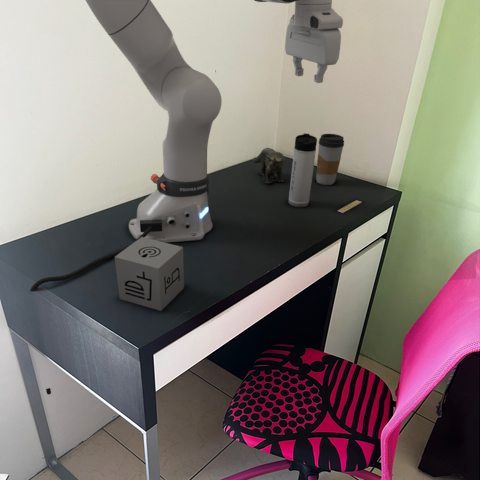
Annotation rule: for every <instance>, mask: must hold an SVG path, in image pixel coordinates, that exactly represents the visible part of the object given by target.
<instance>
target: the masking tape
mask: <svg viewBox="0 0 480 480" xmlns="http://www.w3.org/2000/svg"><path fill="white" fill-rule="evenodd" d="M360 204H362V201H360V200H357V199H356V200H354V201H352V202H350V203H348V204H346V205H345V206H343V207H342V208H340V209H338V210H337V212H338V213H342V214H344V213H346V212H347V211H350V210H351V209H352V208H355V207H356V206H358V205H360Z"/></svg>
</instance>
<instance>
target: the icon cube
mask: <svg viewBox="0 0 480 480" xmlns="http://www.w3.org/2000/svg"><path fill="white" fill-rule="evenodd" d="M133 242H134V241H133ZM133 242H132V243H133ZM129 245H130V244H129ZM126 247H127V246H126ZM184 263H185V262H184V247H183V246H180V245H177V244H173V243H169V242H165V243H164V242H160V241H156V240H152V239H148V238H144V237H141V238H140V239H138V240H137V241H136V242H134V243H133V244H132V245H130V246H129V247H127V248H126V249H125V250H123V251H122V252H121V253H119V254H118V255H117V256H114V264H115V272H116V273H115V274H116V280H117V289H118V297H119V300H121V301H126V302H128V303H132V304H136V305H140V306H142V307H146V308H149V309H153V310H156V311H160V312H162V311H163V310H164V309H165V308H166V307H167V306H168V305H169V304H170V303H171V302H172V301H173V300H174V299H175V298H176V297H177V296H178V295H179V294H180V293H181V292H182V291H183V290H184V289H185V267H184V266H185V265H184Z"/></svg>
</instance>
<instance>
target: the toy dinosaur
mask: <svg viewBox="0 0 480 480" xmlns="http://www.w3.org/2000/svg"><path fill="white" fill-rule="evenodd" d="M285 159H286V158H285V156H284V155H283V153H281V152H280V151H276V150H274V149H273V148H271V147H265V148H263V149H262V150H261V152H260V153H259V154H258V155H257V157H253V159H252V161H253V164H258V163H260V167H261V168H260V172H259V176H265V181H264V184H272V181H271V178H272V179H277V182H278V183H284V181H285V180H284V179H283V178H282V173H283V172H282V171H283V167H284V165H285V163H286V160H285ZM276 175H277V176H276Z"/></svg>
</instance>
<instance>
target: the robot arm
mask: <svg viewBox="0 0 480 480" xmlns="http://www.w3.org/2000/svg"><path fill="white" fill-rule="evenodd" d="M253 1H255V2H257V3H268V2H269V3H276V4H292V3H294V14H292V16H291V17H290V19H289V23H288V25H287V27H286V33H285V41H284V42H285V43H284V50H285V54H286V55H288V56H291V57H292V62H293V66H294V75H295V76H296V77H303V76H304V70H305V69H304V68H303V64H302V61H303V60H305V61H307V62H312V63H315V64H316V68H317V70H316V74H314V75H313V77H314V79H313V81H314V82H315V83H316V84H321V83H323V82H324V77H325V76H324V75H325V74H326V71H327V69H328V66H332V65H333V66H335V65H336V64H337V63H338V61H339V60H340V59H339V58H340V52H341V43H342V35H341V31H340V29H342V27H343V25H344V18H342V16H340V15H339V14H338V13H337V12H336V11H335V9H334V8H332V7H333V6H332V5H333V0H253ZM85 2H86V4H87V6H88V8H89V9H90V10H91V12H92V13H93V14H92V15H94V17H95V18H96V20H97V21H98V23H99V24H100V26H101V27H102V29H103V30H104V32H106V34H107V35H108V36H109V38H110V39H111V40H112V42H113V43H114V44H115V46H116V47H117V48H118V49H119V51H120V52H121V53H122V54H123V56H124V57H125V58H126V60H127V61H128V62H129V64H130V65H131V66H132V67H133V69H134V70H135V72H136V73H137V75H138V77H139V78H140V80H141V81H142V83H143V85H144V86H145V87H146V89H147V90H148V93H149V94H150V95H151V96H152V98H153V99H154V100H155V103H157V104H158V106H159V107H160V108H161V109H163V110H165V111H166V112H167V114H168V123H167V128H166V129H167V130H166V135H165V138H164V139H163V141H162V145H161V146H162V165H163V167H162V168H163V172H162V175H160V176H159V175H158V174H156V173H153V174H151V176H150V180H151V182H152V183H153V184H156V189H155V190H154V191H153V192H152V193H151V194H149V195H148V196H147V197H146V198H145V199H143V200H142V201H140V203H139V204H138V207H137V210H136V218H132V219H130V221H129V222H128V230H129V233H130V234H131V236H132V237H133V238H134V239H135V240H134V241H133V242H131V243H130V244H128V245H127V246H124V247H123V248H121V249H119V250H117V251H114V252H111V253H108V254H105V255H103V256H101V257H99V258H96V259H94V260H92V261H90V262H89V263H87V264H85V265H83V266H81V267H79V268H78V269H75V270H74V271H72V272H69V273H67V274H63V275H56V276H48V277H43V278H41V279H39V280H37V281H36V282H35V283H34V284H33V285H32V286H31V288H30V289H29V292H35V291H36V290H37V289H38V288H39V287H40V286H41V285H43V284H45V283H51V282H60V281H65V280H69V279H71V278H74V277H75V276H77V275H80V274H81V273H84V272H85V271H88V270H89V269H90V268H92V267H94V266H96V265H98V264H100V263H102V262H104V261H106V260H109V259H111V258H115V256H117V255H118V254H119V253H121V252H122V251H123V250H125V249H126V248H127V247H129V246H130V245H132V244H133V243H134V242H136V241H137V240H138V239H140V238H141V237H144V238H148V239H152V240H156V241H160V242H164V243H176V242H177V243H178V242H190V241H201V240H203V239H204V237H205V235H206V234H207V233H209V232H210V231H211V230H212V228H213V225H214V223H213V222H212V218H211V214H210V208H209V197H208V195H209V191H210V181H209V180H210V179H209V177H210V175H209V173H208V147H209V146H208V145H209V140H210V139H209V138H210V135H211V130H212V126H213V122H214V121H215V120H216V119H217V117H218V115H219V114H220V112H221V109H222V103H223V102H222V95H221V91H220V89H219V88H218V85H216V84H215V82H214V81H213V80H212V79H211V77H209V76H208V75H207V74H205V73H203V72H201V71H199V70H196V69H194V68H192V66H190V65H189V64H188V63H187V61H186V60H185V59H184V56H183V55H182V54H181V52H180V50H179V48H178V46H177V44H176V41H175V38H174V35H173V32H172V30H171V29H170V26H168V24H167V22H166V21H165V20H164V18H163V17H162V15H161V13H160V11H158V9H157V8H156V6H155V4H154V3H153V1H152V0H85ZM45 392H46V394H47V395H51V394H52V389H51V387H47V388H45Z"/></svg>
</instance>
